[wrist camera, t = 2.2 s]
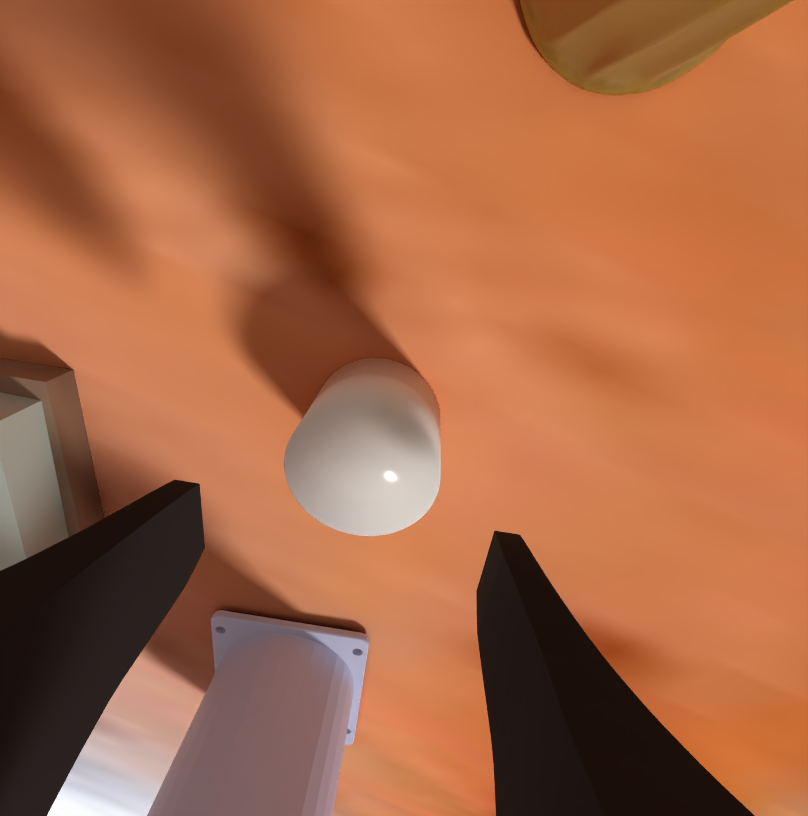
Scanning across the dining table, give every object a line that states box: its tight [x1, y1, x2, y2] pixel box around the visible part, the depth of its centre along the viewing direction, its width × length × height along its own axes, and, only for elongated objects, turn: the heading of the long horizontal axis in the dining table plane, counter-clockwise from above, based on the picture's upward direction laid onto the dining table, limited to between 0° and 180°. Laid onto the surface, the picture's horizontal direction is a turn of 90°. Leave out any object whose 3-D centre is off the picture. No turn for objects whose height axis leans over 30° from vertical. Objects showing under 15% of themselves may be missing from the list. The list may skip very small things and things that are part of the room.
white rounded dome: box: [284, 358, 441, 536], centre depth 15 cm, size 5×5×4 cm
